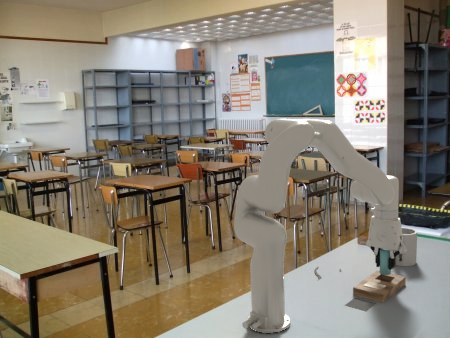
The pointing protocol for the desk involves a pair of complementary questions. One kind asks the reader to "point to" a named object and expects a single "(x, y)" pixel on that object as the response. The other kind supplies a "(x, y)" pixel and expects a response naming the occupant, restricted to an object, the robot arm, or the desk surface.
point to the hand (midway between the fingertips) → (385, 266)
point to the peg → (384, 262)
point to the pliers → (318, 274)
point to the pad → (360, 304)
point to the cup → (408, 248)
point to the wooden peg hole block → (379, 286)
